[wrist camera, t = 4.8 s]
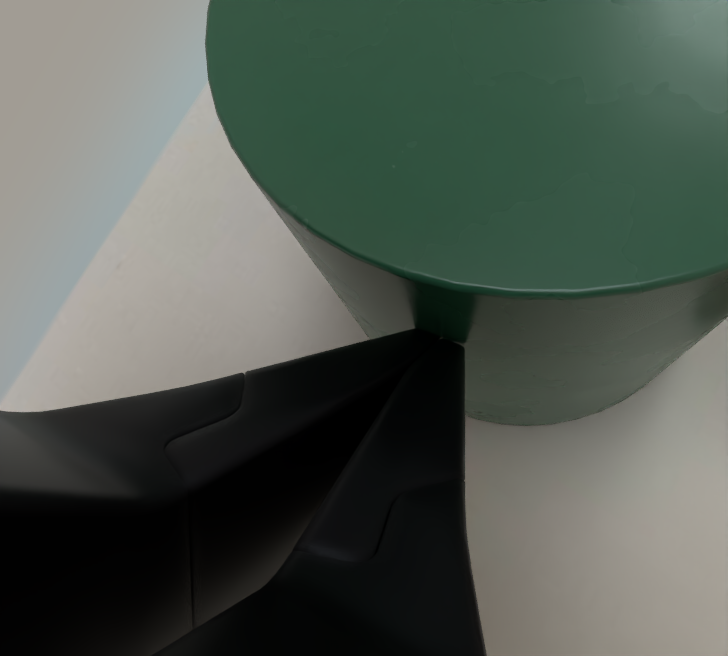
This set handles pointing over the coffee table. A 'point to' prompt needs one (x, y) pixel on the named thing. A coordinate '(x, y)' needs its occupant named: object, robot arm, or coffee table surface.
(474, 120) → the green cylinder
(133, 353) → the coffee table surface
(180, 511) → the robot arm
